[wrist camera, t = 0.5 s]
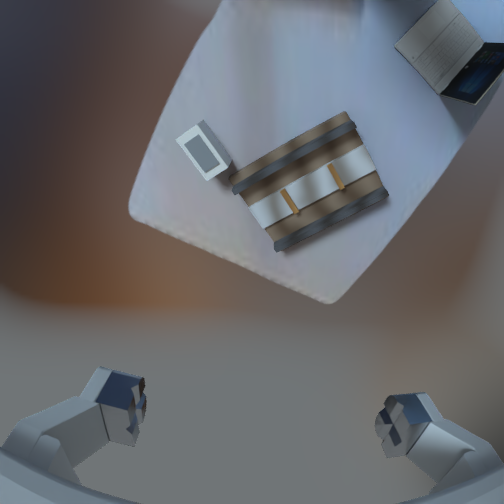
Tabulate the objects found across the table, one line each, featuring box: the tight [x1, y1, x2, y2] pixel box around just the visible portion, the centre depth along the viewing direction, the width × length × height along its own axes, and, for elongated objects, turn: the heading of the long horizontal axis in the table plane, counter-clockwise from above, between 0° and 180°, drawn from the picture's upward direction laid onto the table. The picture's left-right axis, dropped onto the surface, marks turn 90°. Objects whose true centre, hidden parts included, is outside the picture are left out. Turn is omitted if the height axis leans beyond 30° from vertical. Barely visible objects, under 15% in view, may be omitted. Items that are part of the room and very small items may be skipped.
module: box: [176, 120, 232, 181], centre depth 50 cm, size 4×9×5 cm, turn 33°
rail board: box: [229, 111, 389, 252], centre depth 53 cm, size 24×18×4 cm
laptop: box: [394, 0, 504, 105], centre depth 31 cm, size 18×12×13 cm
